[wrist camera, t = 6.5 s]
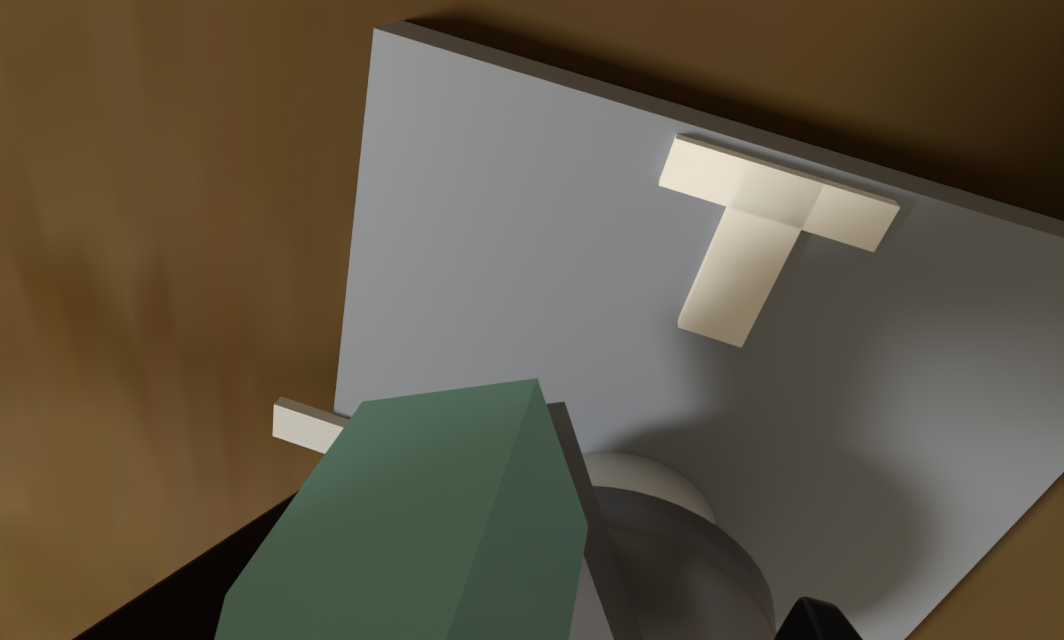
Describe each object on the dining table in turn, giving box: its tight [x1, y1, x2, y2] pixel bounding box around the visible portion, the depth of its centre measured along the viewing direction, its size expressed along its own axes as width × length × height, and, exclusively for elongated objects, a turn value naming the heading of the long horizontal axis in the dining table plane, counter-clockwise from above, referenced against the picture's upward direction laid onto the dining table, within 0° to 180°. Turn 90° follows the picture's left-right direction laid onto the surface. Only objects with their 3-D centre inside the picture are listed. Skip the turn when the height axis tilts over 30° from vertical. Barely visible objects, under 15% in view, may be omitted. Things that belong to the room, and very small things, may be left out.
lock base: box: [273, 20, 1064, 640], centre depth 15 cm, size 18×15×3 cm
